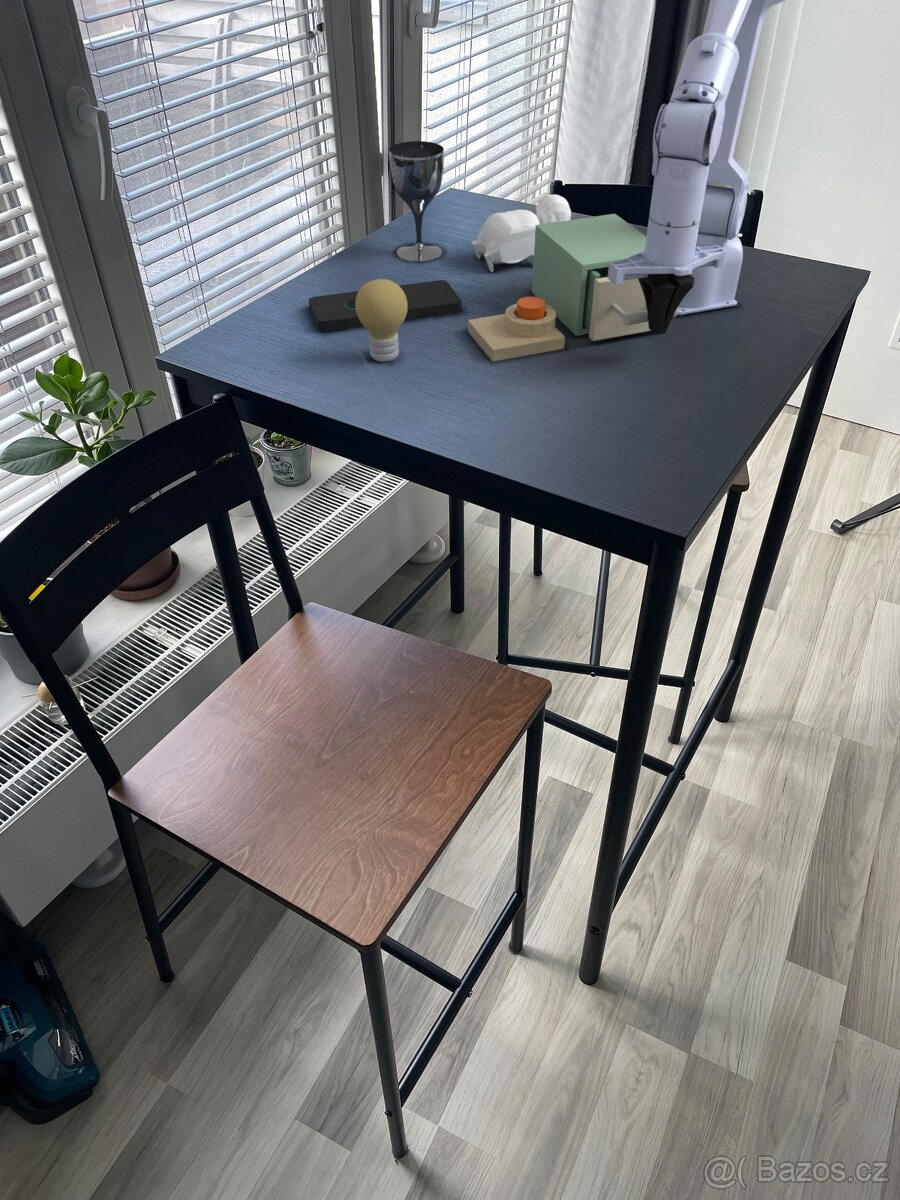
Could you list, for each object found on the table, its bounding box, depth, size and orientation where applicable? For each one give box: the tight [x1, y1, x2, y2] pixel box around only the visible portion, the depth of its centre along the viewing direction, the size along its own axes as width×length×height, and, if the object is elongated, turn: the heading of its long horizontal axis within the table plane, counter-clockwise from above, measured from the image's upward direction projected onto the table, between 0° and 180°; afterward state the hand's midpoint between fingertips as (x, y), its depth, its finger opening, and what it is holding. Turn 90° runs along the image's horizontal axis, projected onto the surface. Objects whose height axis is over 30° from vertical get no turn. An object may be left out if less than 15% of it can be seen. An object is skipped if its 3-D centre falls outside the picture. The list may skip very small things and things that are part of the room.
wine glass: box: [388, 140, 445, 263], centre depth 138 cm, size 8×8×15 cm
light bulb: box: [355, 278, 408, 363], centre depth 114 cm, size 6×6×10 cm
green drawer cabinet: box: [531, 213, 647, 337], centre depth 125 cm, size 15×12×10 cm
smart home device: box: [308, 279, 462, 333], centre depth 127 cm, size 8×2×20 cm
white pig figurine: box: [471, 194, 572, 273], centre depth 138 cm, size 9×8×15 cm
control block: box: [467, 303, 566, 362], centre depth 120 cm, size 10×9×4 cm
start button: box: [516, 296, 545, 320], centre depth 118 cm, size 4×4×2 cm
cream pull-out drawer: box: [582, 267, 678, 342], centre depth 120 cm, size 18×11×8 cm, turn 20°
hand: (657, 330), depth 113 cm, fingers closed, pressing on cream pull-out drawer
